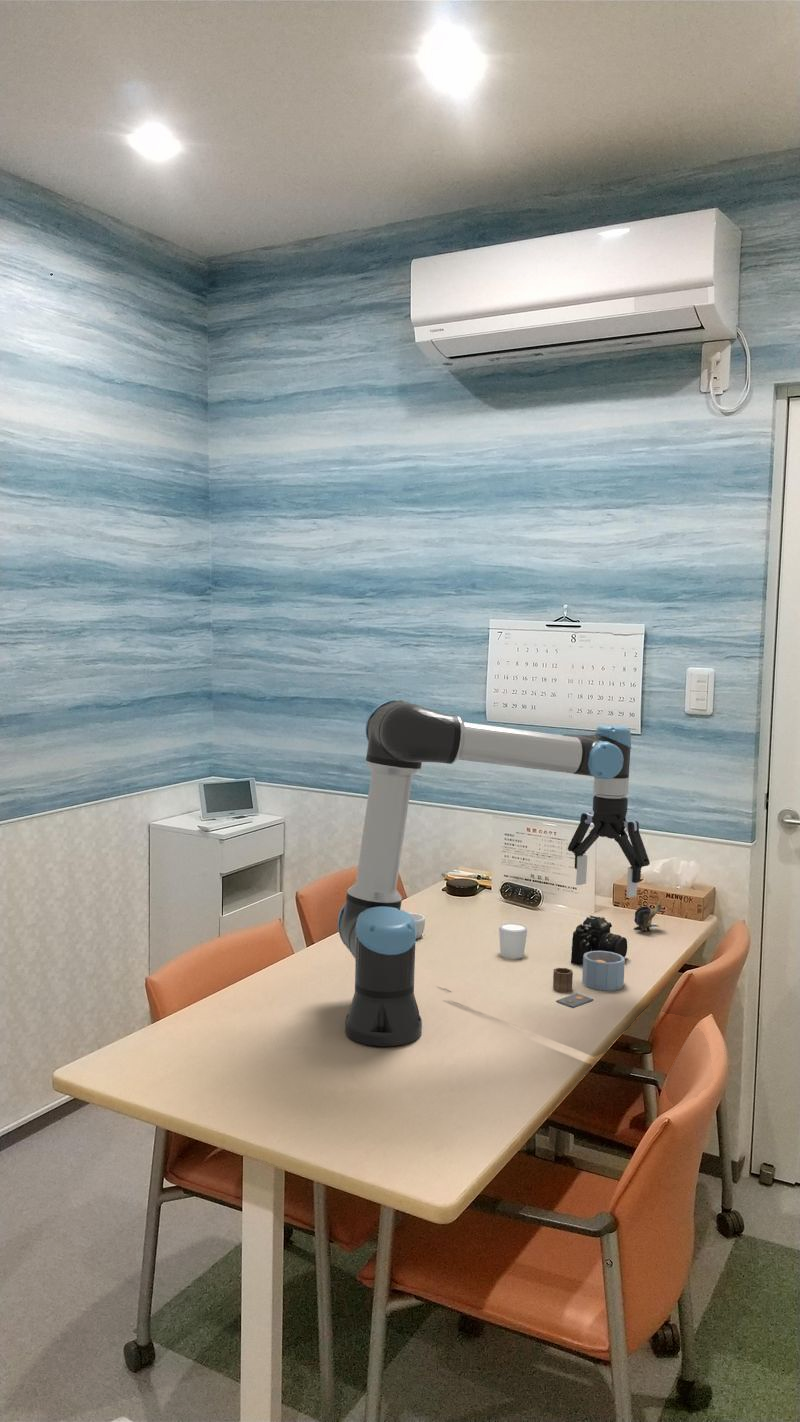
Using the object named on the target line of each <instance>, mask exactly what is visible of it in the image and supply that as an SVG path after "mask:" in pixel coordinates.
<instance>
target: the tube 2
mask: <svg viewBox="0 0 800 1422" xmlns="http://www.w3.org/2000/svg"><path fill="white" fill-rule="evenodd" d="M625 959H626V957H625V958H624V957H623V956H621V955H620V954H616V953H613V952H607V951H590V952H587V953H584V956H583V965H582V976H581V977H582V984H583V985H585V986H586V987H588V988H590V989H593V990H600V991H617V990H621V989H622V988H624V985H625V964H626V963H625V961H626V960H625ZM596 960H603V961H605V962H597V961H596ZM606 962H607V963H606Z"/></svg>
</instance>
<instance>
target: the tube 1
mask: <svg viewBox="0 0 800 1422" xmlns="http://www.w3.org/2000/svg"><path fill="white" fill-rule="evenodd" d="M573 973H574V972H573V970H572V969H569V968H567V967H557V968H553V975H552V989H553V990H554V991H556V992H560V993H568V992H571V991H573V976H574V974H573Z"/></svg>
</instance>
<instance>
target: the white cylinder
mask: <svg viewBox="0 0 800 1422" xmlns="http://www.w3.org/2000/svg"><path fill="white" fill-rule="evenodd" d="M498 930H499V931H498V933H499V951H500V956H501V957H503V958H506V959H510V960H511V959H512V960H515V959H517V960H518V959H521V958H523V957H524V956H525V949H526V942H527V936H528V935H527V934H528V927H527V926H526V925H523V924H518V923H504V924H500V925H499V926H498Z"/></svg>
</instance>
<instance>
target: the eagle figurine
mask: <svg viewBox="0 0 800 1422" xmlns="http://www.w3.org/2000/svg"><path fill="white" fill-rule="evenodd" d="M661 910H662V904H658V905H657V906H655V907H654V908H653V909H651V908H650V907H649V906H648V905H646V906H645V905H644V906H641V907H639V908H638V909H636V910H635V912H634V922H635V925H636V926H635V927H633V929H634V930H636V929H640V928H641V931H642V932H641V933H645V934H646V932H648V933H650V932H651V928H655V927H658V928H659V924H658V923H655V922H652V921H653V920H652V919H653V918H654V917H655V916H656V914H658V913H659V912H660V911H661Z"/></svg>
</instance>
